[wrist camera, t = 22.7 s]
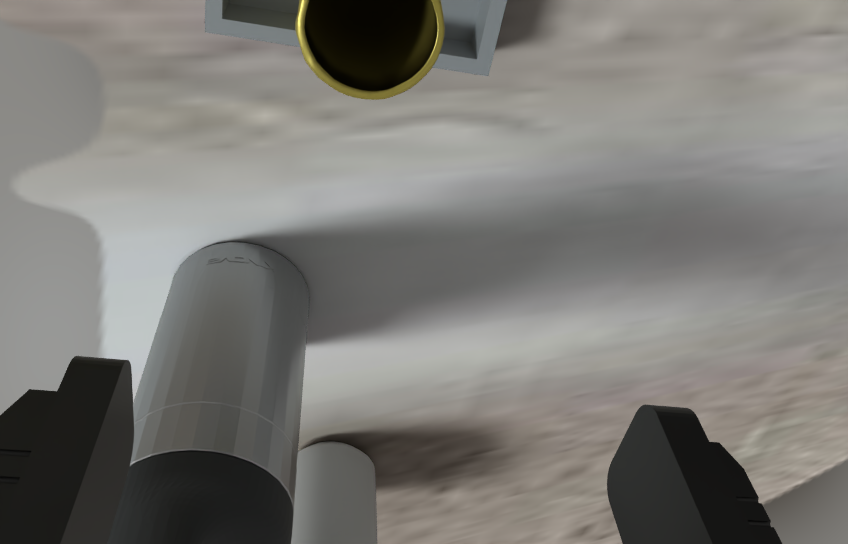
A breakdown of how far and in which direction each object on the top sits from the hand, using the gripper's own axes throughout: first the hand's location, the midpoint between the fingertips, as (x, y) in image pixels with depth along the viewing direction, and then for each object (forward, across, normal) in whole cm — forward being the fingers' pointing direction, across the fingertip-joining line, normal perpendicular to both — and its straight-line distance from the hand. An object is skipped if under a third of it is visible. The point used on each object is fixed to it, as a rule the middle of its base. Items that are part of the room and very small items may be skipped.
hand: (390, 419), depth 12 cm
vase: (+32, 0, 0) cm, 32 cm away
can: (+33, -3, +42) cm, 53 cm away
